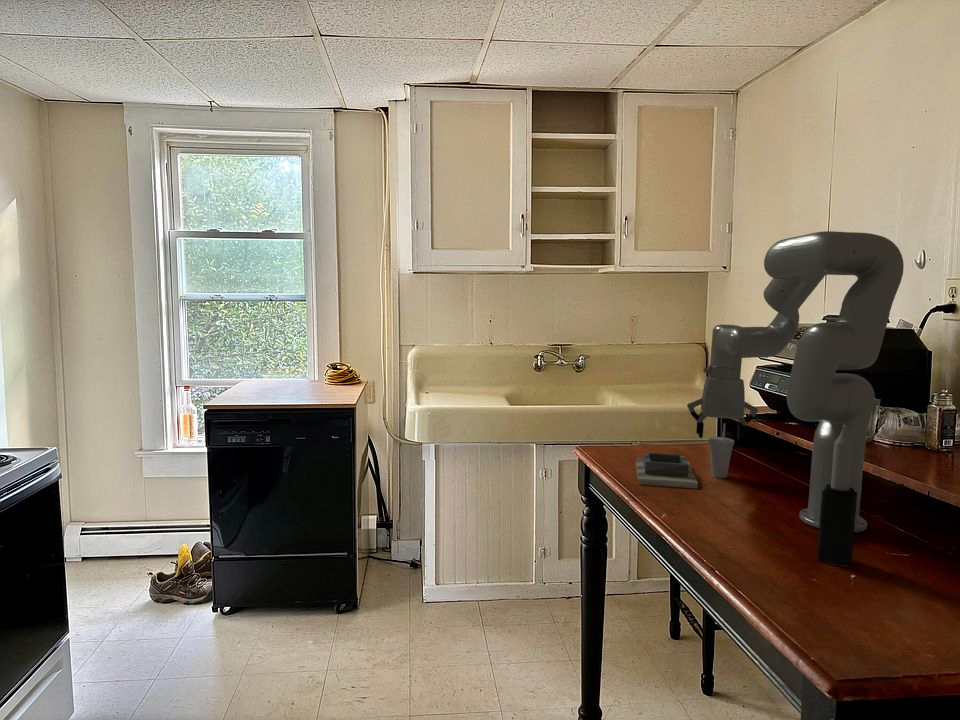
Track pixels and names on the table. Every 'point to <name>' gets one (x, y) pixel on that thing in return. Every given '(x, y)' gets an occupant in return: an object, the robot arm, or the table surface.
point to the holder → (665, 471)
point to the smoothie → (720, 454)
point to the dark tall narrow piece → (838, 507)
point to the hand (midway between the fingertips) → (719, 438)
